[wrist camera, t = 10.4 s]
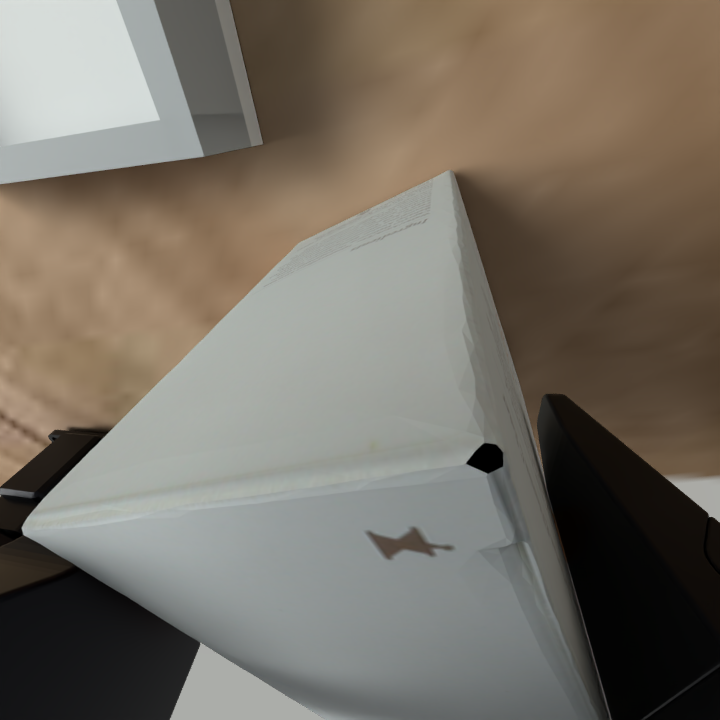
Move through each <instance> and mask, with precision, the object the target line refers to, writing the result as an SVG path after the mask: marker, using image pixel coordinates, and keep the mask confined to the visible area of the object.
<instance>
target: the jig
mask: <svg viewBox="0 0 720 720" xmlns="http://www.w3.org/2000/svg"><path fill="white" fill-rule="evenodd" d="M262 144H263V141H262V137H261V133H260V128H259V124H258V120H257V116H256V111H255V107H254V103H253V99H252V95H251V90H250V86H249V82H248V78H247V73H246V69H245V65H244V61H243V56H242V52H241V48H240V44H239V40H238V35H237V31H236V27H235V23H234V18H233V14H232V10H231V6H230V1H229V0H0V184H5V183H13V182H20V181H28V180H35V179H42V178H50V177H57V176H64V175H72V174H79V173H87V172H94V171H101V170H109V169H116V168H123V167H131V166H138V165H146V164H153V163H160V162H168V161H175V160H183V159H190V158H197V157H205V156H209V155H214V154H219V153H224V152H229V151H233V150H238V149H243V148H248V147H253V146H257V145H262Z"/></svg>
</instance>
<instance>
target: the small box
mask: <svg viewBox="0 0 720 720" xmlns="http://www.w3.org/2000/svg"><path fill="white" fill-rule="evenodd" d="M22 531H23V535H24V536H26V537H28V538H30V539H32V540H34V541H36V542H38V543H39V544H41V545H43V546H44V547H46V548H48V549H49V550H51V551H52V552H54V553H55V554H57V555H59V556H61V557H62V558H64V559H66V560H68V561H69V562H71V563H73V564H74V565H76V566H77V567H79V568H81V569H82V570H84V571H85V572H87V573H88V574H90V575H92V576H93V577H95V578H96V579H98V580H100V581H101V582H103V583H105V584H106V585H108V586H109V587H111V588H113V589H115V590H116V591H118V592H120V593H121V594H123V595H125V596H127V597H128V598H130V599H131V600H133V601H134V602H136V603H138V604H139V605H141V606H142V607H144V608H145V609H147V610H149V611H150V612H152V613H153V614H155V615H156V616H158V617H160V618H161V619H163V620H164V621H166V622H168V623H169V624H171V625H172V626H174V627H176V628H177V629H179V630H180V631H182V632H184V633H185V634H187V635H188V636H190V637H192V638H194V639H195V640H197V641H199V642H201V643H202V644H204V645H206V646H207V647H209V648H210V649H212V650H213V651H215V652H217V653H218V654H220V655H221V656H223V657H224V658H226V659H228V660H229V661H231V662H233V663H234V664H236V665H238V666H239V667H241V668H242V669H244V670H246V671H248V672H249V673H251V674H253V675H254V676H256V677H258V678H259V679H261V680H262V681H264V682H265V683H267V684H269V685H270V686H272V687H273V688H275V689H277V690H278V691H280V692H282V693H283V694H285V695H286V696H288V697H289V698H291V699H293V700H295V701H296V702H298V703H299V704H301V705H303V706H305V707H306V708H308V709H309V710H311V711H312V712H314V713H316V714H317V715H319V716H320V717H322V718H324V719H326V720H612V719H611V716H610V712H609V709H608V705H607V701H606V698H605V694H604V691H603V687H602V684H601V680H600V677H599V673H598V670H597V666H596V663H595V659H594V655H593V652H592V648H591V645H590V641H589V638H588V634H587V631H586V627H585V624H584V620H583V617H582V613H581V609H580V606H579V602H578V599H577V595H576V592H575V588H574V585H573V581H572V578H571V574H570V571H569V567H568V563H567V560H566V556H565V553H564V549H563V546H562V542H561V539H560V535H559V532H558V528H557V524H556V521H555V517H554V514H553V510H552V507H551V503H550V500H549V496H548V492H547V488H546V482H545V476H544V472H543V468H542V464H541V461H540V457H539V454H538V450H537V446H536V443H535V439H534V435H533V431H532V428H531V424H530V420H529V416H528V413H527V409H526V405H525V402H524V398H523V394H522V391H521V387H520V384H519V380H518V377H517V374H516V371H515V368H514V365H513V361H512V358H511V355H510V352H509V348H508V345H507V342H506V339H505V336H504V332H503V329H502V326H501V323H500V320H499V317H498V313H497V310H496V307H495V304H494V301H493V297H492V294H491V291H490V288H489V284H488V281H487V278H486V274H485V271H484V268H483V265H482V261H481V258H480V255H479V252H478V248H477V245H476V242H475V239H474V235H473V232H472V229H471V226H470V223H469V219H468V216H467V213H466V210H465V207H464V204H463V200H462V197H461V194H460V191H459V188H458V184H457V181H456V178H455V175H454V173H453V171H451V170H448V171H446V172H444V173H442V174H440V175H438V176H436V177H434V178H432V179H430V180H428V181H426V182H424V183H422V184H420V185H418V186H416V187H413V188H411V189H409V190H407V191H405V192H403V193H401V194H399V195H397V196H395V197H393V198H391V199H389V200H386V201H384V202H382V203H380V204H378V205H376V206H374V207H372V208H370V209H368V210H366V211H364V212H361V213H359V214H357V215H355V216H353V217H351V218H349V219H347V220H345V221H343V222H341V223H339V224H337V225H334V226H332V227H330V228H328V229H326V230H324V231H322V232H320V233H318V234H316V235H314V236H312V237H310V238H308V239H306V240H304V241H301V242H300V243H298V244H297V245H296V246H295V247H294V248H293V249H292V250H291V251H290V252H289V253H288V254H287V255H286V256H285V257H284V258H283V259H282V260H281V261H280V262H279V263H278V264H277V265H276V266H275V267H274V268H273V269H272V270H271V271H270V272H269V273H268V274H267V275H266V276H265V277H264V278H263V279H262V280H261V281H260V282H259V283H258V284H257V285H256V286H255V287H254V288H253V289H252V290H251V291H250V292H249V293H248V294H247V295H246V296H245V297H244V298H243V299H242V300H241V301H240V302H239V303H238V304H237V305H236V306H235V307H234V308H233V309H232V310H231V311H230V312H229V313H228V314H227V315H226V316H225V317H224V318H223V319H222V320H221V321H220V322H219V323H218V324H217V325H216V326H215V327H214V328H213V329H212V330H211V331H210V332H209V333H208V334H207V335H206V336H205V337H204V338H203V339H202V340H201V341H200V342H199V343H198V344H197V345H196V346H195V347H194V348H193V349H192V350H191V351H190V352H189V353H188V354H187V355H186V356H185V357H184V358H183V359H182V360H181V361H180V363H179V364H178V365H177V366H175V367H174V368H173V369H172V370H171V371H170V372H169V373H168V374H167V375H166V376H165V377H164V378H163V379H162V380H161V381H160V382H159V383H158V384H157V385H156V386H155V387H154V388H153V389H152V390H151V391H150V392H149V393H148V394H147V395H146V396H145V397H144V398H143V399H142V400H141V401H140V402H139V403H138V404H137V405H136V406H135V407H134V408H133V409H132V410H131V411H130V412H129V413H128V414H127V415H126V416H125V417H124V418H123V419H122V420H121V421H120V422H119V423H118V424H117V425H116V426H115V427H114V428H113V429H112V430H111V431H110V432H109V433H108V434H107V435H106V436H105V437H104V438H103V439H102V440H101V441H100V442H99V443H98V444H97V445H96V446H95V447H94V448H93V449H92V450H91V451H90V452H89V453H88V454H87V455H86V456H85V457H84V458H83V459H82V460H81V461H80V462H79V463H78V464H77V465H76V466H75V467H74V468H73V469H72V470H71V471H70V472H69V473H68V474H67V475H66V476H65V477H64V478H63V479H62V480H61V481H60V482H59V483H58V484H57V485H56V486H55V487H54V488H53V489H52V490H51V491H50V492H49V493H48V495H47V496H46V497H45V498H44V499H43V500H42V501H41V502H40V503H39V505H38V506H37V507H36V508H35V509H34V510H33V511H32V513H31V514H30V515H29V516H28V517H27V519H26V521H25V523H24V524H23V526H22Z"/></svg>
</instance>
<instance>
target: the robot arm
mask: <svg viewBox="0 0 720 720" xmlns="http://www.w3.org/2000/svg"><path fill="white" fill-rule="evenodd" d="M537 429H538V436H539V443H540V449H541V456H542V463H543V469H544V476H545V482H546V488H547V492H548V496H549V500H550V503H551V507H552V510H553V514H554V517H555V521H556V524H557V528H558V532H559V535H560V539H561V542H562V546H563V549H564V553H565V556H566V560H567V563H568V567H569V571H570V574H571V578H572V581H573V585H574V588H575V592H576V595H577V599H578V602H579V606H580V609H581V613H582V617H583V620H584V624H585V627H586V631H587V634H588V638H589V641H590V645H591V648H592V652H593V655H594V659H595V663H596V666H597V670H598V673H599V677H600V680H601V684H602V687H603V691H604V694H605V698H606V701H607V705H608V709H609V712H610V716H611V719H612V720H720V523H719V522H718V521H717V520H716V519H715V518H713V517H709V515H708V513H707V512H706V511H705V510H703V509H702V508H701V507H700V506H699V505H697V504H696V503H695V502H694V501H693V500H691V499H690V498H689V497H688V496H687V495H685V494H684V493H683V492H682V491H680V490H679V489H678V488H677V487H676V486H674V485H673V484H672V483H671V482H670V481H668V480H667V479H666V478H665V477H664V476H662V475H661V474H660V473H659V472H658V471H656V470H655V469H654V468H653V467H652V466H650V465H649V464H648V463H647V462H645V461H644V460H643V459H642V458H641V457H639V456H638V455H637V454H636V453H635V452H633V451H632V450H631V449H630V448H629V447H627V446H626V445H625V444H624V443H622V442H621V441H620V440H619V439H618V438H616V437H615V436H614V435H613V434H612V433H610V432H609V431H608V430H607V429H606V428H604V427H603V426H602V425H601V424H599V423H598V422H597V421H596V420H595V419H593V418H592V417H591V416H590V415H589V414H587V413H586V412H585V411H584V410H583V409H581V408H580V407H579V406H578V405H576V404H575V403H574V402H573V401H572V400H570V399H569V398H568V397H567V396H565V395H563V394H545V395H544V396H543V398H542V402H541V407H540V411H539V415H538V420H537ZM106 435H107V434H103V433H90V432H77V431H65V430H54V431H53V432H52V433H51V434H50V435H49V436H48V437H49V439H50V440H51V441H52V443H51V444H50V445H49V446H48V447H46V448H45V449H44V450H43V451H42V452H41V453H39V454H38V455H37V456H36V457H35V458H34V459H32V460H31V461H30V462H29V463H28V464H27V465H25V466H24V467H23V468H22V469H21V470H20V471H18V472H17V473H16V474H15V475H14V476H12V477H11V478H10V479H9V480H8V481H7V482H5V483H4V484H3V485H2V486H1V487H0V495H1V497H0V720H170V718H171V715H172V713H173V710H174V707H175V705H176V703H177V700H178V698H179V696H180V693H181V690H182V688H183V686H184V683H185V681H186V678H187V676H188V673H189V671H190V669H191V666H192V663H193V661H194V659H195V656H196V654H197V651H198V649H199V647H200V642H199V641H197V640H195V639H194V638H192V637H190V636H188V635H187V634H185V633H184V632H182V631H180V630H179V629H177V628H176V627H174V626H172V625H171V624H169V623H168V622H166V621H164V620H163V619H161V618H160V617H158V616H156V615H155V614H153V613H152V612H150V611H149V610H147V609H145V608H144V607H142V606H141V605H139V604H138V603H136V602H134V601H133V600H131V599H130V598H128V597H127V596H125V595H123V594H121V593H120V592H118V591H116V590H115V589H113V588H111V587H109V586H108V585H106V584H105V583H103V582H101V581H100V580H98V579H96V578H95V577H93V576H92V575H90V574H88V573H87V572H85V571H84V570H82V569H81V568H79V567H77V566H76V565H74V564H73V563H71V562H69V561H68V560H66V559H64V558H62V557H61V556H59V555H57V554H55V553H54V552H52V551H51V550H49V549H48V548H46V547H44V546H43V545H41V544H39V543H38V542H36V541H34V540H32V539H30V538H28V537H26V536H24V535H23V531H22V526H23V524H24V523H25V521H26V519H27V517H28V516H29V515H30V514H31V513H32V511H33V510H34V509H35V508H36V507H37V506H38V505H39V503H40V502H41V501H42V500H43V499H44V498H45V497H46V496H47V495H48V493H49V492H50V491H51V490H52V489H53V488H54V487H55V486H56V485H57V484H58V483H59V482H60V481H61V480H62V479H63V478H64V477H65V476H66V475H67V474H68V473H69V472H70V471H71V470H72V469H73V468H74V467H75V466H76V465H77V464H78V463H79V462H80V461H81V460H82V459H83V458H84V457H85V456H86V455H87V454H88V453H89V452H90V451H91V450H92V449H93V448H94V447H95V446H96V445H97V444H98V443H99V442H100V441H101V440H102V439H103V438H104V437H105V436H106ZM708 517H709V518H708Z"/></svg>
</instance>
